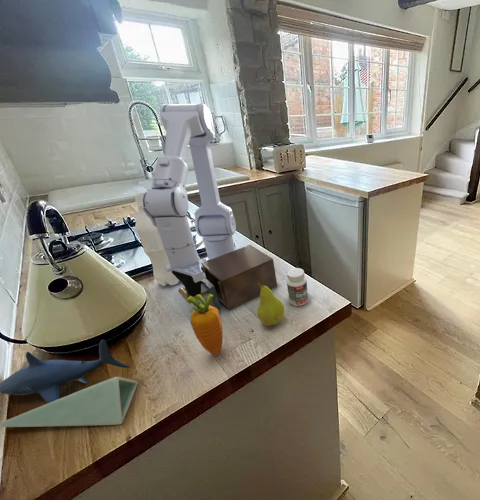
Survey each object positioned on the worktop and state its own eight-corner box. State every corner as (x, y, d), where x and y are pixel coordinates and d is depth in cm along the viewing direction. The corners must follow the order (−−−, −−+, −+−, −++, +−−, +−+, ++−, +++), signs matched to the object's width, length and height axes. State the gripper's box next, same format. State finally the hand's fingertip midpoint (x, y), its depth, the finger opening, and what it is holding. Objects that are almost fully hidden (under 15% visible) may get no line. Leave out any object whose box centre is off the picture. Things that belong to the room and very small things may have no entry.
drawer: (196, 321, 67) (188, 297, 63) (179, 301, 73) (171, 278, 70) (263, 288, 77) (258, 266, 74) (243, 274, 84) (238, 253, 80)
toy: (44, 378, 58) (0, 345, 53) (147, 348, 57) (113, 311, 52) (-1, 427, 50) (-58, 394, 45) (119, 393, 49) (75, 355, 44)
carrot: (234, 346, 61) (218, 287, 54) (223, 365, 57) (203, 304, 50) (211, 344, 62) (192, 285, 54) (198, 364, 57) (176, 302, 50)
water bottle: (174, 289, 79) (141, 200, 67) (151, 286, 80) (115, 198, 68) (192, 275, 85) (165, 190, 73) (170, 272, 86) (140, 189, 74)
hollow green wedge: (-4, 376, 46) (129, 357, 51) (14, 402, 49) (138, 382, 54) (-49, 425, 39) (110, 398, 44) (-24, 453, 42) (122, 424, 47)
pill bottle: (298, 309, 71) (295, 280, 67) (285, 301, 74) (281, 273, 70) (312, 299, 75) (309, 271, 71) (299, 292, 77) (296, 265, 73)
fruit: (289, 315, 69) (283, 272, 64) (279, 332, 64) (272, 288, 59) (266, 312, 70) (258, 269, 65) (255, 329, 65) (245, 285, 60)
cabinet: (229, 310, 71) (221, 280, 67) (209, 290, 78) (201, 262, 74) (277, 286, 80) (273, 258, 76) (255, 270, 87) (250, 244, 83)
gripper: (148, 239, 65) (166, 289, 72) (170, 262, 56) (189, 317, 63) (181, 229, 70) (196, 277, 76) (207, 249, 61) (221, 301, 67)
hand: (195, 294), depth 70 cm, fingers closed, pressing on drawer
